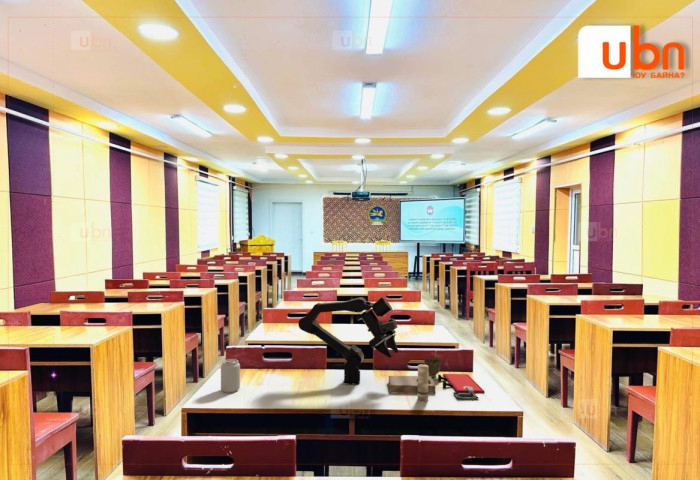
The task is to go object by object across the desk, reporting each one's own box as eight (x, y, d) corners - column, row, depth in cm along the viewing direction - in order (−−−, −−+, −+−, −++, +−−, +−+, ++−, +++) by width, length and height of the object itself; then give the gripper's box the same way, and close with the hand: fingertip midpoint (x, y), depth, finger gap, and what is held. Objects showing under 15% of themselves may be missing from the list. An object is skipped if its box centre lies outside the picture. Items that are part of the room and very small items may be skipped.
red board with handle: (452, 400, 170) (491, 401, 171) (452, 393, 170) (491, 393, 171) (434, 376, 200) (467, 377, 201) (435, 370, 200) (467, 371, 201)
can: (217, 390, 179) (217, 360, 179) (233, 385, 185) (233, 357, 184) (227, 394, 174) (227, 364, 174) (243, 390, 179) (243, 360, 179)
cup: (439, 375, 201) (440, 357, 201) (441, 380, 193) (441, 362, 193) (423, 374, 201) (423, 357, 201) (424, 379, 194) (424, 361, 194)
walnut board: (390, 392, 178) (390, 385, 178) (388, 382, 190) (388, 375, 190) (435, 393, 177) (435, 385, 177) (430, 383, 189) (430, 376, 189)
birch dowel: (418, 401, 168) (418, 367, 168) (416, 397, 173) (417, 364, 173) (429, 401, 168) (429, 367, 168) (427, 397, 173) (427, 364, 172)
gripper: (379, 315, 177) (402, 349, 173) (394, 310, 194) (415, 340, 190) (359, 331, 180) (381, 364, 176) (375, 324, 197) (395, 354, 193)
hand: (394, 354), depth 184 cm, fingers open, 9 cm apart
